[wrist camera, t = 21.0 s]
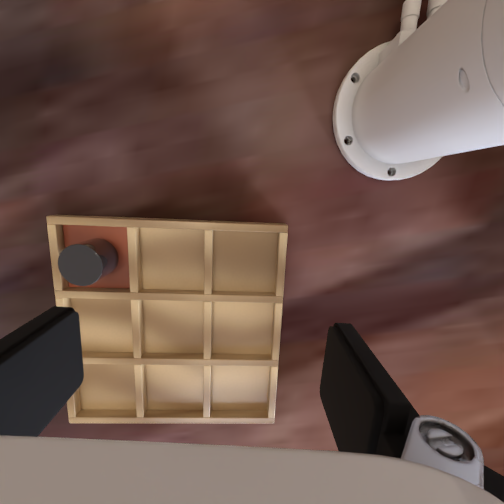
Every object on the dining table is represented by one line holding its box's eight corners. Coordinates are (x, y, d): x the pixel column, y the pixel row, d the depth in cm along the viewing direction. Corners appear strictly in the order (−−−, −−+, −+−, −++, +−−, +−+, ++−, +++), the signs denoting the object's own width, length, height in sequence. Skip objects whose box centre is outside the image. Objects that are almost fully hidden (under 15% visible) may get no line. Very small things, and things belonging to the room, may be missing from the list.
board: (57, 214, 28) (45, 215, 26) (285, 223, 29) (288, 225, 28) (78, 411, 33) (68, 423, 31) (272, 411, 34) (274, 423, 32)
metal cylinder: (77, 237, 28) (55, 243, 25) (117, 238, 28) (100, 244, 25) (81, 274, 29) (59, 285, 25) (119, 276, 29) (103, 287, 26)
